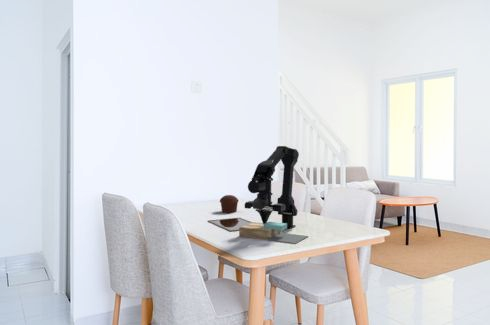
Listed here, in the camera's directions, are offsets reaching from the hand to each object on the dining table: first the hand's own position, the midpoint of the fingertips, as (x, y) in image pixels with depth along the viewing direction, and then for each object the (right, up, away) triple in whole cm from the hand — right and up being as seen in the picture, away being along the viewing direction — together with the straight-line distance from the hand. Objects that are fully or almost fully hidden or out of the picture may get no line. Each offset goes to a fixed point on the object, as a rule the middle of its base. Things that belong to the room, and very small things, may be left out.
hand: (264, 224), depth 195 cm
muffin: (-19, -2, +63) cm, 66 cm away
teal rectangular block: (+5, -1, -2) cm, 6 cm away
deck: (-2, -5, +2) cm, 6 cm away
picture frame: (-14, -4, +25) cm, 29 cm away
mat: (+10, -5, -6) cm, 13 cm away
